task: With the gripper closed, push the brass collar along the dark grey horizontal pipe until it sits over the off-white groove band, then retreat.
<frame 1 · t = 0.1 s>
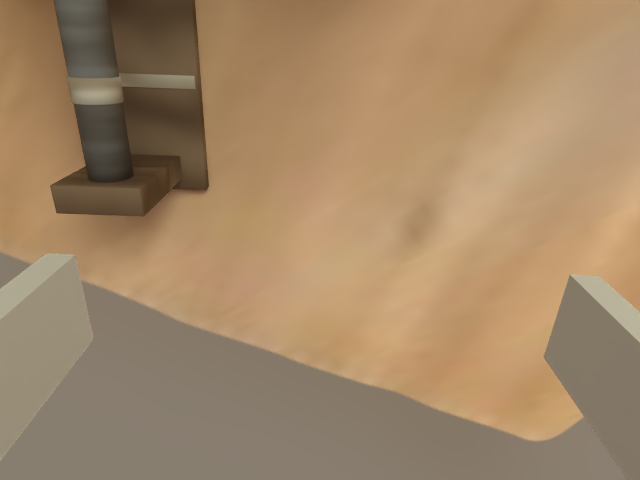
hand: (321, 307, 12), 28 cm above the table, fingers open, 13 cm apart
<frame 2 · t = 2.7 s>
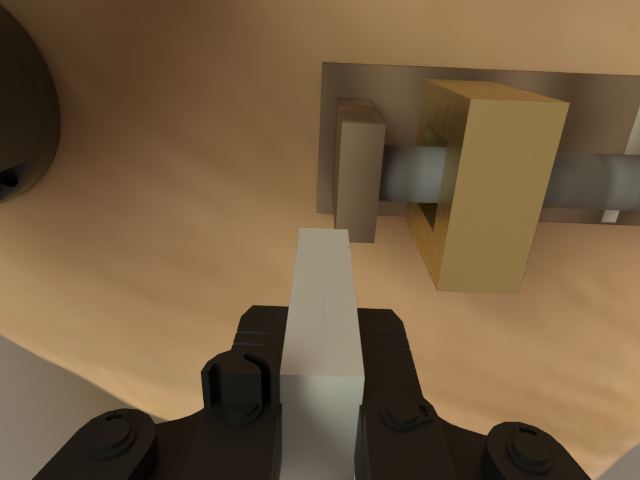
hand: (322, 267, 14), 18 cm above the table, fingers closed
pipe rig: (535, 149, 31), on the table
collar: (467, 176, 24), point 7 cm above the table, slide at 0.0 cm
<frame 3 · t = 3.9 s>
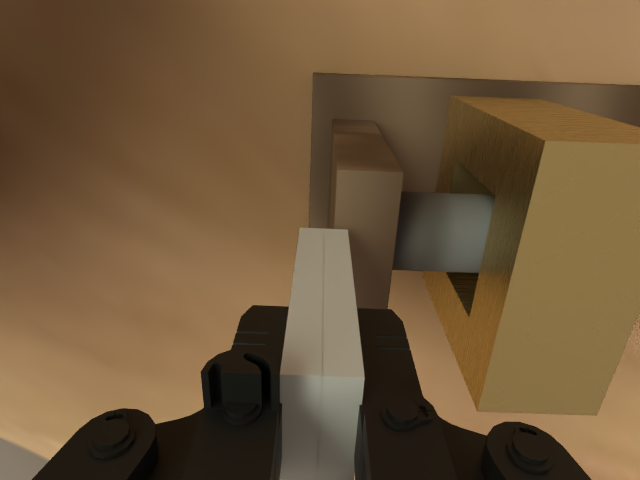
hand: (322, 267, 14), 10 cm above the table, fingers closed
pipe rig: (589, 182, 24), on the table
collar: (514, 234, 17), point 7 cm above the table, slide at 0.0 cm
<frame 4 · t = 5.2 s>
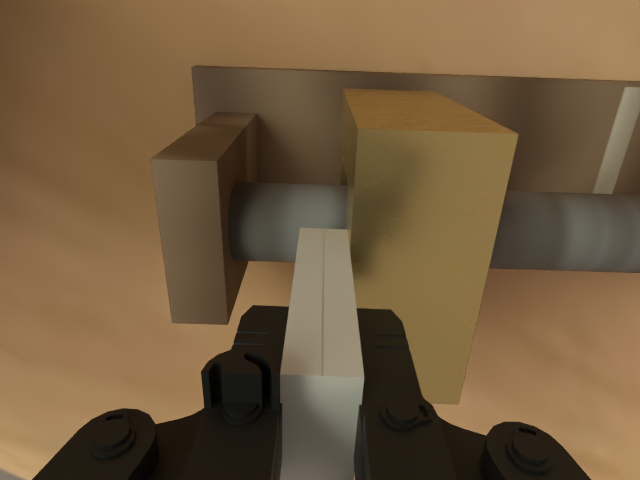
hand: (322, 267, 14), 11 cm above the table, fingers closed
pipe rig: (483, 174, 24), on the table
collar: (393, 226, 17), point 7 cm above the table, slide at 1.0 cm, touching gripper
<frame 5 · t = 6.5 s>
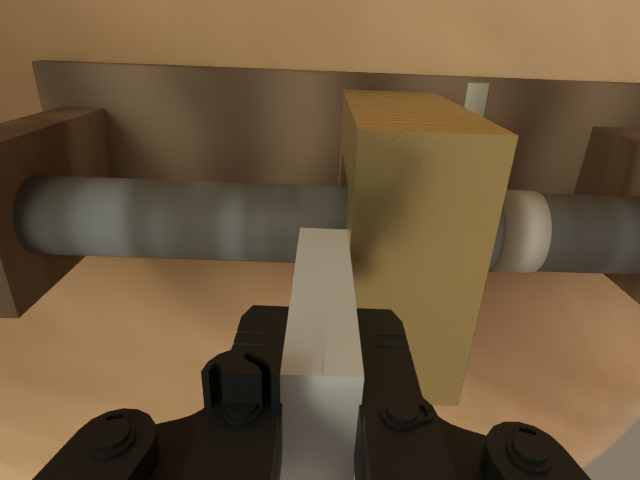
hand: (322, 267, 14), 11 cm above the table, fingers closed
pipe rig: (344, 171, 24), on the table
collar: (393, 227, 17), point 8 cm above the table, slide at 8.5 cm, touching gripper
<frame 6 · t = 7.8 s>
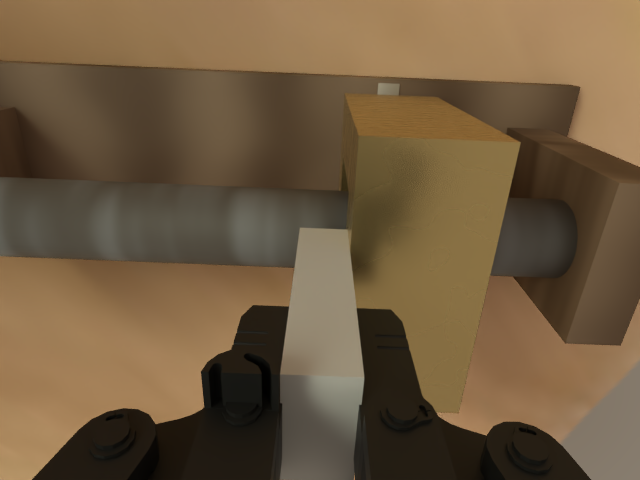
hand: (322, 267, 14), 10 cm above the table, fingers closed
pipe rig: (265, 171, 24), on the table
collar: (394, 232, 17), point 7 cm above the table, slide at 12.8 cm, touching gripper
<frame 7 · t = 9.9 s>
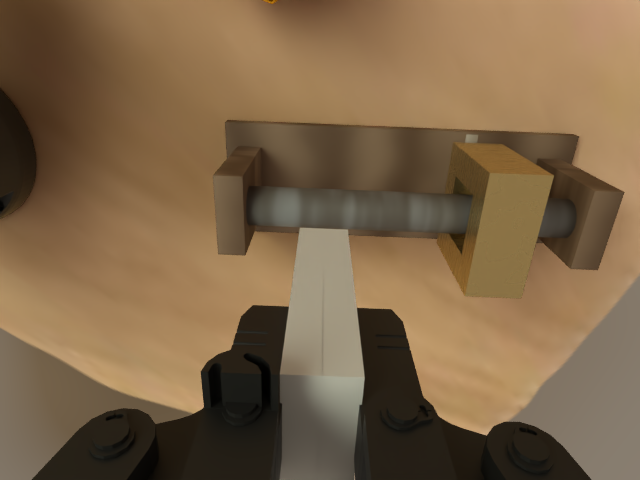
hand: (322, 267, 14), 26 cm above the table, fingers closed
pipe rig: (394, 182, 40), on the table
collar: (484, 215, 33), point 7 cm above the table, slide at 12.9 cm
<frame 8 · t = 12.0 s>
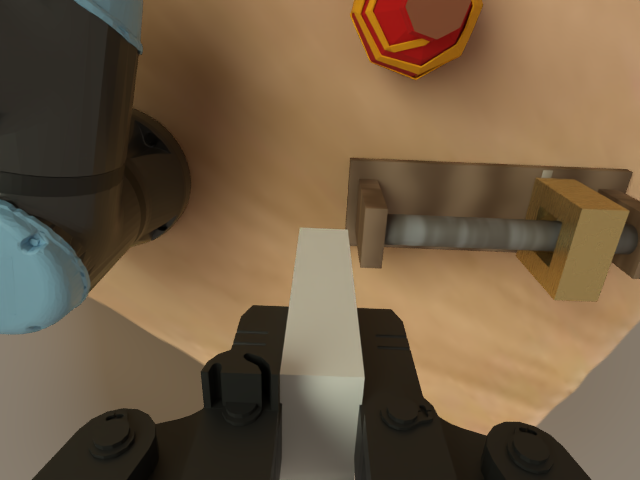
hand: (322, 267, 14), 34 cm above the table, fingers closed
pipe rig: (479, 207, 50), on the table
collar: (564, 236, 43), point 7 cm above the table, slide at 12.9 cm
potion bottle: (402, 14, 42), on the table
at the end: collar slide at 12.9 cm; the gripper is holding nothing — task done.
